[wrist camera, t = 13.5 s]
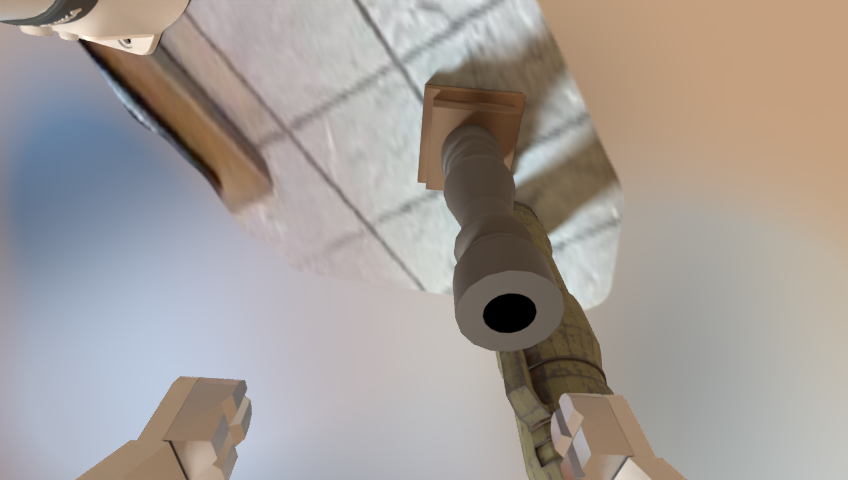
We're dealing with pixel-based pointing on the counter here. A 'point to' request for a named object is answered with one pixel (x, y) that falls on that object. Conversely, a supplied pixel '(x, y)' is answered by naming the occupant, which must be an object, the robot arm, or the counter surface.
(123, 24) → the robot arm
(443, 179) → the walnut stand
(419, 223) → the counter surface
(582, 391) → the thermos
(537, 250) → the candle holder
